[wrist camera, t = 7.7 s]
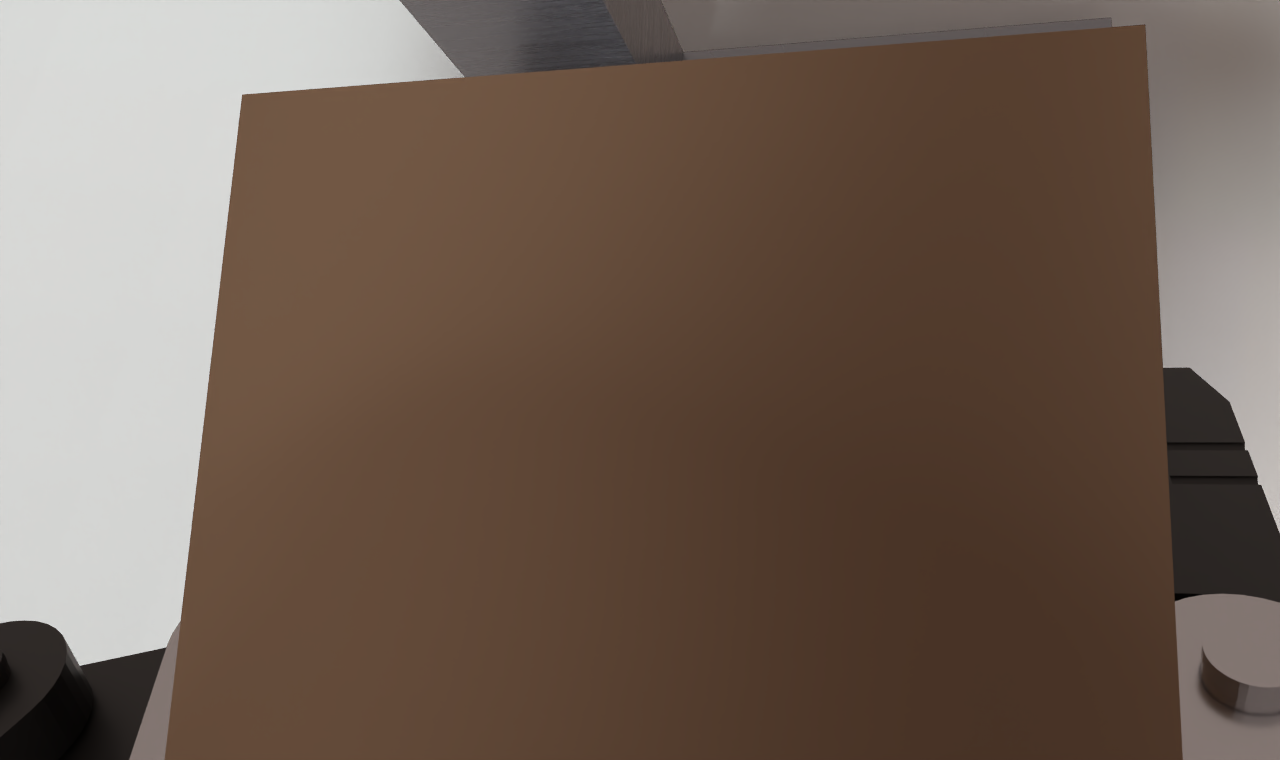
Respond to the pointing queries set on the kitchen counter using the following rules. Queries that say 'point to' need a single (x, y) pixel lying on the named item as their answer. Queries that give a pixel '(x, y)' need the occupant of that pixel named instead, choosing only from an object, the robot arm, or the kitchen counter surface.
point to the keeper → (612, 34)
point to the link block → (692, 416)
